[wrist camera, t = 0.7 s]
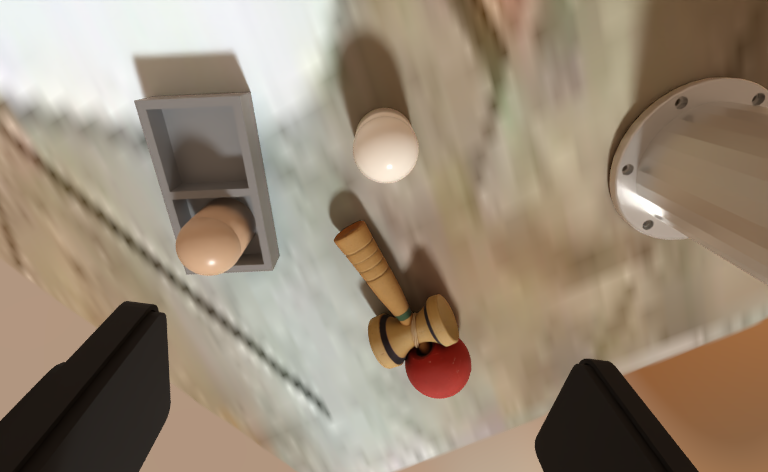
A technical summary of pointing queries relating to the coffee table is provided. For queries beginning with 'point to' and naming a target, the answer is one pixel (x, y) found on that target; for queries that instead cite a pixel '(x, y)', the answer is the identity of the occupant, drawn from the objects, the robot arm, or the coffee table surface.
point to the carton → (212, 180)
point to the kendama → (408, 323)
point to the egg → (385, 146)
